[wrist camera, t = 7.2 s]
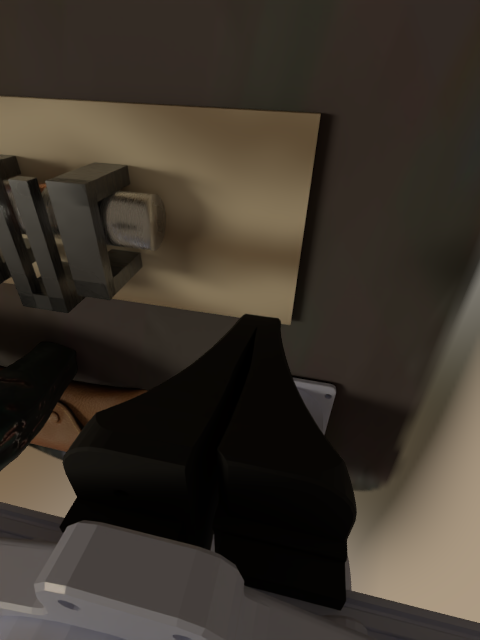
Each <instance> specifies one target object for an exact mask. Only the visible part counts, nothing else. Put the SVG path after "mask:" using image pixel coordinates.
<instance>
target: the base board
mask: <svg viewBox="0 0 480 640" xmlns="http://www.w3.org/2000/svg"><path fill="white" fill-rule="evenodd" d="M320 116H321V113H312V112H293V111H275V110H257V109H238V108H220V107H202V106H184V105H165V104H147V103H129V102H110V101H92V100H74V99H55V98H37V97H19V96H1V95H0V154H2V155H14V156H16V158H17V162H18V165H19V168H20V171H21V174H20V175H16V176H25V177H36V178H37V180H38V182H39V183H45V180H48V179H51V178H54V177H56V176H59V175H62V174H64V173H67V172H70V171H72V170H75V169H78V168H80V167H83V166H86V165H88V164H91V163H94V162H97V163H109V164H121V165H128V171H129V178H130V185H128V186H126V187H124V188H122V189H120V190H119V191H129V192H139V193H149V194H157V195H159V196H160V197H161V199H162V201H163V204H164V207H165V213H166V228H165V234H164V238H163V241H162V243H161V245H160V247H159V248H158V249H157V250H155V251H152V250H144V249H136V248H128V247H120V246H112V245H106V247H107V252H108V251H110V250H111V249H116V250H124V251H132V252H140V253H141V259H142V266H143V267H142V268H141V269H140V270H139V271H138V272H137V273H136V274H135V275H134V276H133V277H132V278H131V279H130V280H129V281H128V282H127V283H126V284H125V285H124V286H123V287H122V288H121V289H120V290H119V291H118V292H117V293H116V295H115V296H114V297H113V298H112V299H118V300H125V301H132V302H138V303H145V304H152V305H159V306H165V307H172V308H179V309H186V310H192V311H199V312H206V313H213V314H219V315H226V316H233V317H240V318H241V317H242V316H243V315H244V314H251V315H259V316H266V317H273V318H279V319H280V321H281V324H287V325H290V324H291V317H292V311H293V304H294V297H295V290H296V283H297V276H298V269H299V262H300V255H301V248H302V241H303V234H304V227H305V220H306V213H307V206H308V199H309V192H310V185H311V178H312V171H313V164H314V158H315V151H316V144H317V137H318V130H319V123H320ZM16 176H13V177H16ZM13 177H10V178H13ZM10 178H7V179H10ZM22 236H23V238H27V239H28V237H27V235H25V234H22ZM55 241H56V245H57V248H58V251H59V255H60V258H61V261H63V262H68V260H67V257H66V253H65V249H64V246H63V242H62V239H57V238H55ZM32 265H33V268H34V271H35V273H36V276H37V278H38V277H40V276H41V275H40V272H39V269H38V266H37V263H36V262H34V263H32ZM3 283H10V284H14V281H13V279H12V277H10V278H9V279H7V280H6V281H4V282H3Z"/></svg>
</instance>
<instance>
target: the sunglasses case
mask: <svg viewBox="0 0 480 640" xmlns="http://www.w3.org/2000/svg"><path fill="white" fill-rule="evenodd" d="M4 368H5V367H2V366H0V370H2V369H4ZM145 392H147V390H144V389H136V388H119V387H110V386H103V385H96V384H90V383H84V382H78V381H71V382H70V384H69V385H68V387H67V388H66V390H65V391H64V393H63V395H62V396H61V398H60V400H59V401H58V403H57V405H56V406H55V408H54V409H53V411H52V413H51V415H50V417H49V419H48V420H47V422H46V424H45V425H44V427H43V428H42V429H41V431H40V432H39V433H38V434H37V435H36V436H35V437H34V439H33V440H32V441H31V442H30V443H33V444H36V445H40V446H45V447H49V448H53V449H57V450H61V451H66V452H67V451H68V449H69V448H70V446H71V445H72V443H73V442H74V441H75V439H76V438H77V436H78V435H79V433H80V432H81V431H82V429H83V428H84V426H85V425H86V424H87V423H88V422H89V420H90V419H91V418H92V417H93V416H94V414H95V413H96V412H99V411H102V410H105V409H107V408H110V407H112V406H115V405H118V404H120V403H123V402H125V401H128V400H130V399H132V398H134V397H137V396H139V395H141V394H143V393H145Z"/></svg>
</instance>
